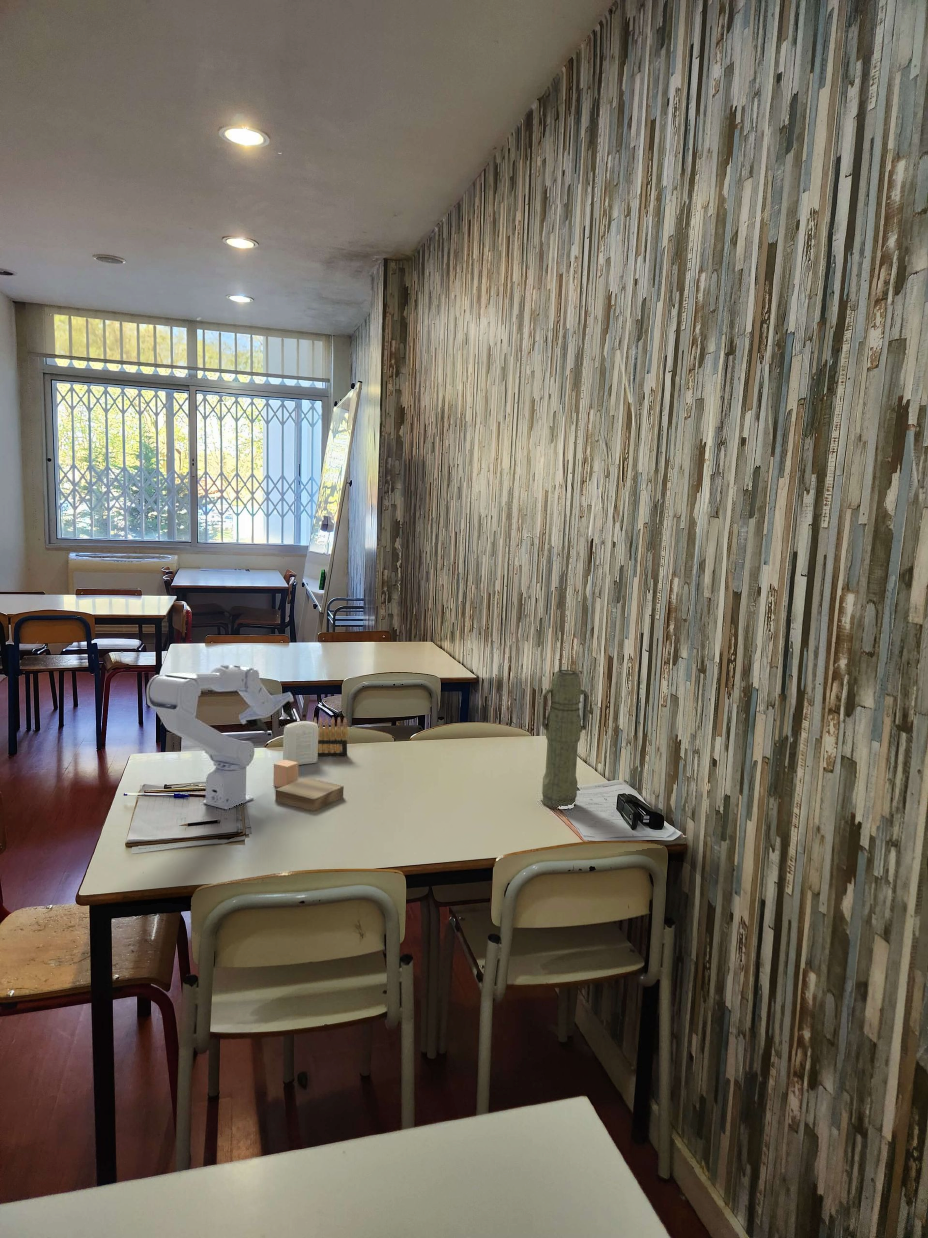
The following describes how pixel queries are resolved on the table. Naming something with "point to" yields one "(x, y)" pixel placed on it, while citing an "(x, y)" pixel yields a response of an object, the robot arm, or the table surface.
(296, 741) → the white stone tablet
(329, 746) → the ammunition clip
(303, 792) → the walnut plinth
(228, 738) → the robot arm
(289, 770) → the terracotta block
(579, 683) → the thermos
